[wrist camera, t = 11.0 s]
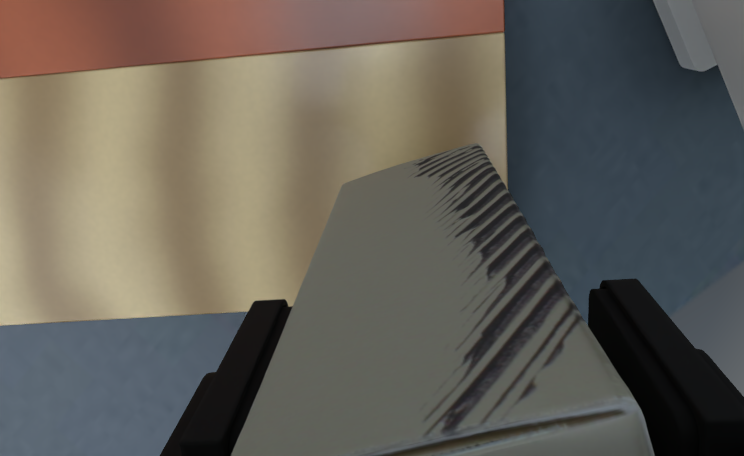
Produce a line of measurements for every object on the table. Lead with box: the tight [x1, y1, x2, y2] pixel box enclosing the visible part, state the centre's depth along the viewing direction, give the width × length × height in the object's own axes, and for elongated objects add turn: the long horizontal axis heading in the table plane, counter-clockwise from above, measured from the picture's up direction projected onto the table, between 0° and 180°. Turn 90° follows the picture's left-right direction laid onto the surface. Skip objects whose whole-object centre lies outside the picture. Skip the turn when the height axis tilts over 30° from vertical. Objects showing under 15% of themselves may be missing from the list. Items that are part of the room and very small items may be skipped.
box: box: [231, 143, 655, 456], centre depth 12 cm, size 5×4×13 cm
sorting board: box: [0, 0, 508, 326], centre depth 23 cm, size 24×20×1 cm
